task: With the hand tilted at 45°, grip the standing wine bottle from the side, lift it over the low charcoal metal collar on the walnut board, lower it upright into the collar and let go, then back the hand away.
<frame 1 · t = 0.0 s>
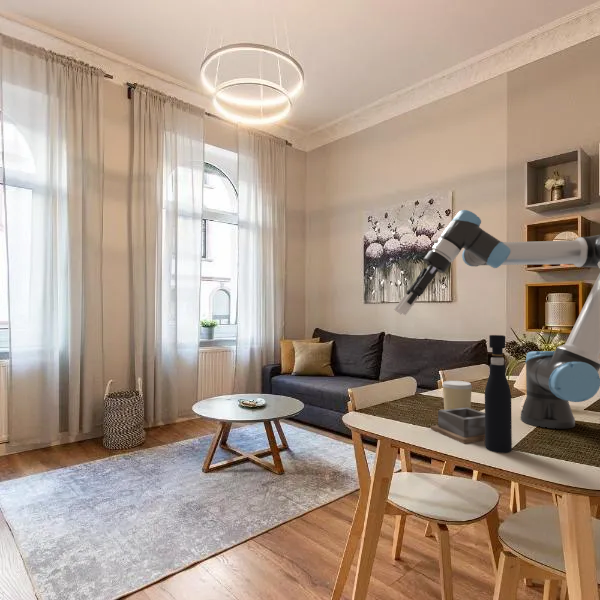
hand: (399, 312, 129), 36 cm above the table, tool tilted 35°, fingers open, 13 cm apart
coffee cup: (457, 419, 140), on the table
collar stand: (465, 433, 124), on the table
wine bottle: (498, 449, 110), on the table
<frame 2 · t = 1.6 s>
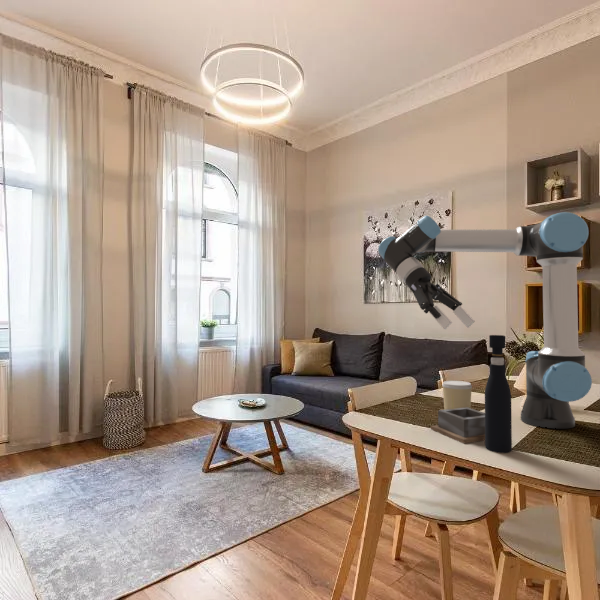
hand: (460, 325, 119), 32 cm above the table, tool tilted 45°, fingers open, 13 cm apart
nothing on the table moved.
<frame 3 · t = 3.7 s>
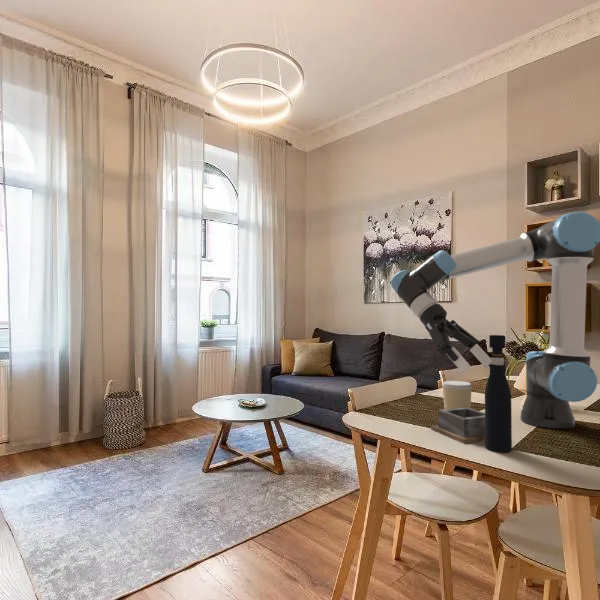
hand: (478, 366, 114), 21 cm above the table, tool tilted 45°, fingers open, 13 cm apart
nothing on the table moved.
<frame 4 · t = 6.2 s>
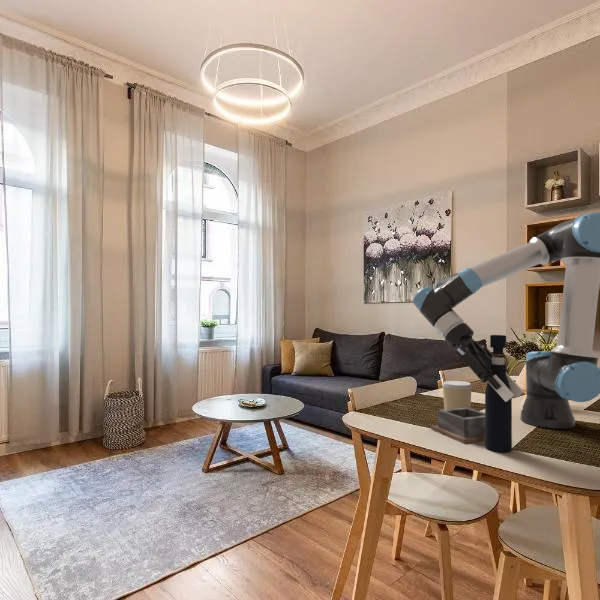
hand: (514, 396, 108), 14 cm above the table, tool tilted 45°, fingers closed on wine bottle, 5 cm apart
wine bottle: (498, 449, 110), on the table, touching gripper
everything else where it was.
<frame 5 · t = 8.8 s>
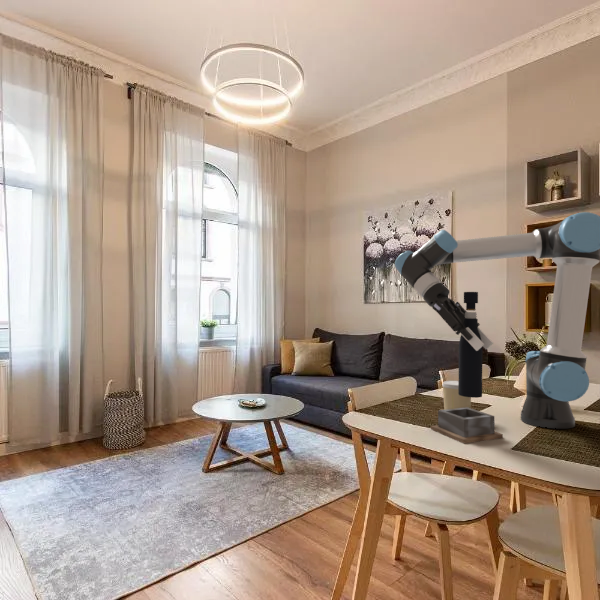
hand: (485, 346, 118), 26 cm above the table, tool tilted 45°, fingers closed on wine bottle, 5 cm apart
wine bottle: (470, 395, 121), point 12 cm above the table, touching gripper
everything else where it was.
when the fingers open (16 cm above the table, at t = 11.8 s): wine bottle stays where it is, resting on collar stand.
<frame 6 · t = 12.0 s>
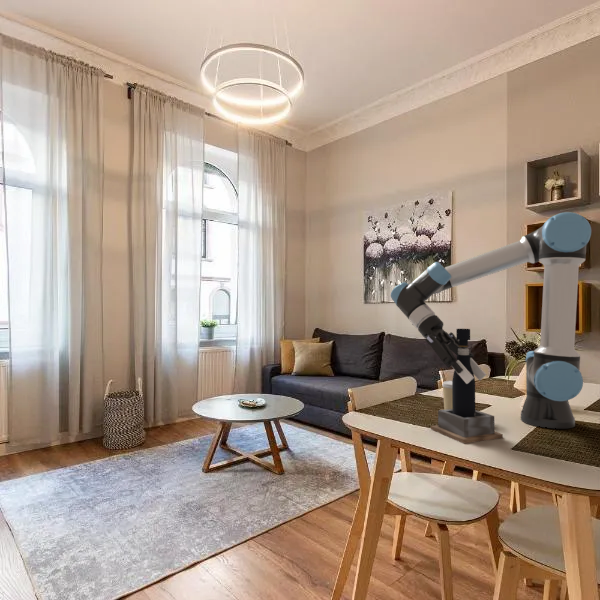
hand: (476, 379, 121), 17 cm above the table, tool tilted 45°, fingers open, 7 cm apart
wine bottle: (463, 430, 124), point 1 cm above the table, touching collar stand
everything else where it was.
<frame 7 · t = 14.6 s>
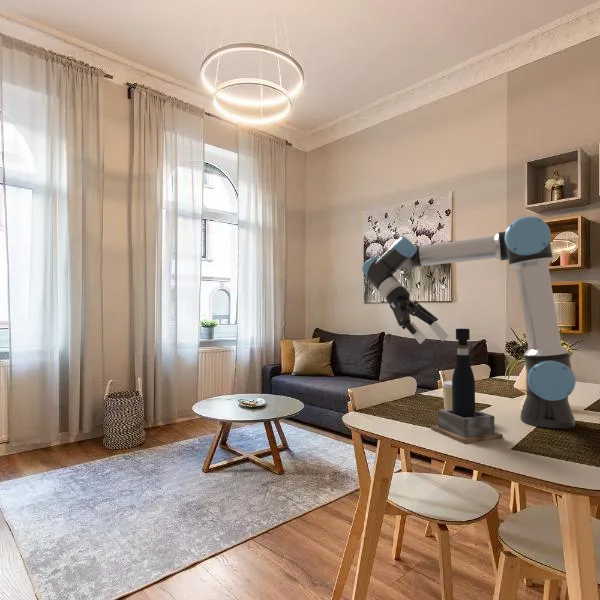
hand: (434, 339, 131), 27 cm above the table, tool tilted 45°, fingers open, 13 cm apart
nothing on the table moved.
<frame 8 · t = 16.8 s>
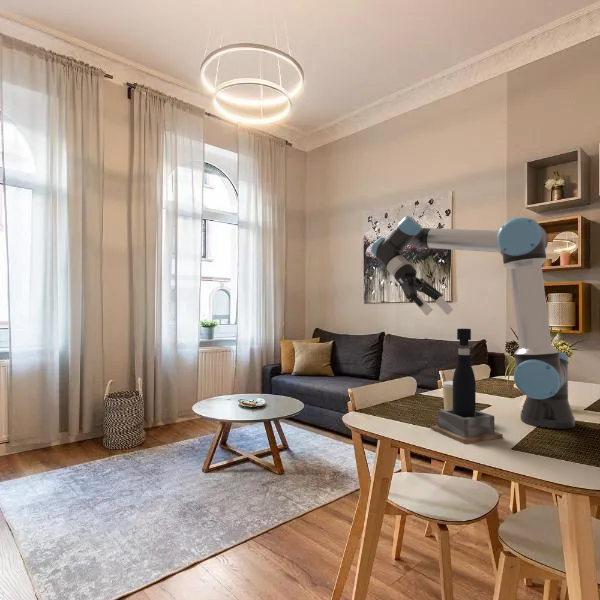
hand: (440, 312, 140), 36 cm above the table, tool tilted 45°, fingers open, 13 cm apart
nothing on the table moved.
at the end: wine bottle 0.5 cm off-centre on the collar stand, point 0.8 cm above the collar stand's base; wine bottle tilted 0°; the gripper is holding nothing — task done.
